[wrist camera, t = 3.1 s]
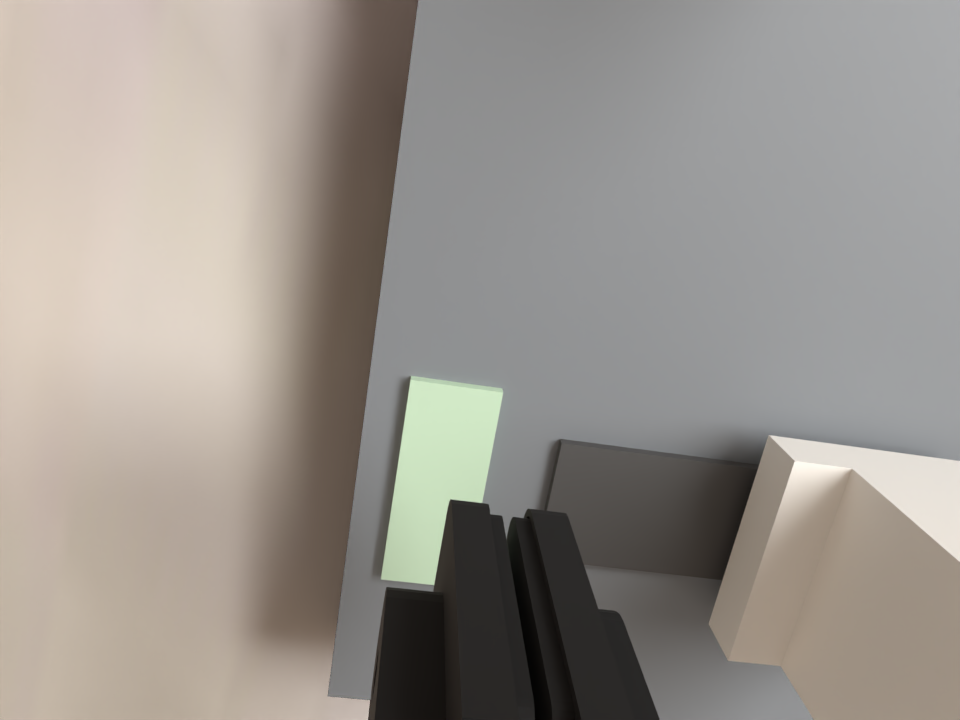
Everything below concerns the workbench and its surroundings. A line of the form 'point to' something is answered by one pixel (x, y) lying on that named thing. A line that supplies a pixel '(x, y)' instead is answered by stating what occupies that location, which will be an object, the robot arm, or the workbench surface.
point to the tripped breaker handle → (849, 580)
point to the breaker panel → (654, 293)
